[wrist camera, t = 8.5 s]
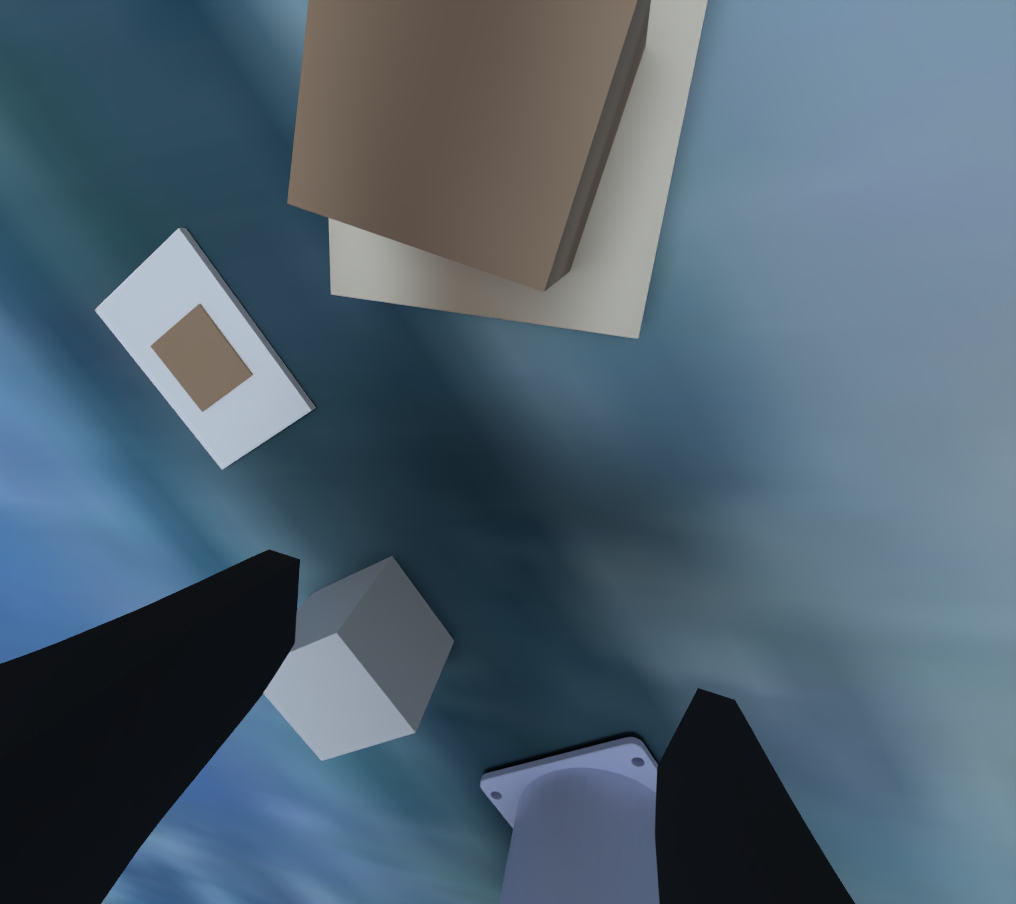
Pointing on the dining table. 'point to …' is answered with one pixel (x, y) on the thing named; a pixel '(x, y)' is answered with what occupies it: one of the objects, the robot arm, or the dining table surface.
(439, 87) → the walnut block
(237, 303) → the card
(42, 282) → the dining table surface
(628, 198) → the birch base block
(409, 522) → the dining table surface
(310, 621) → the grey block
